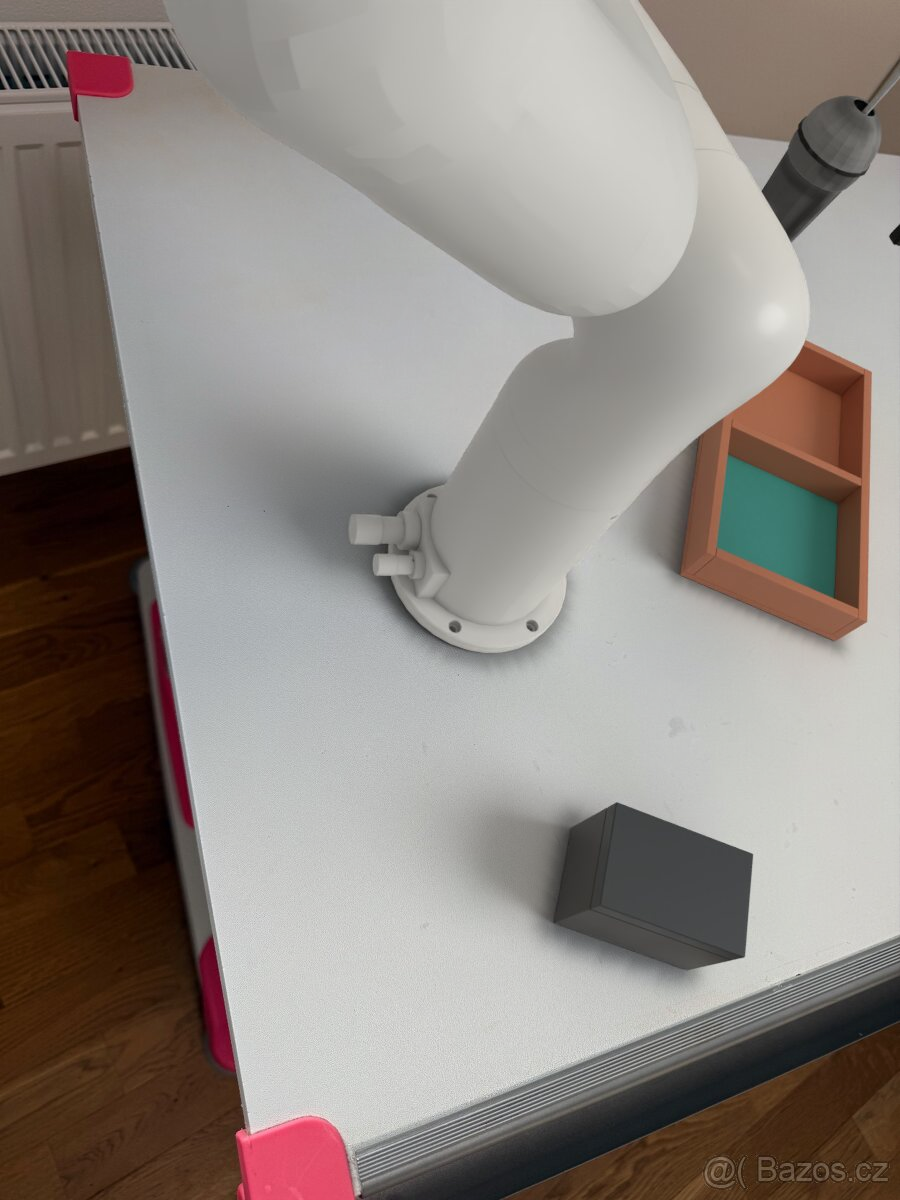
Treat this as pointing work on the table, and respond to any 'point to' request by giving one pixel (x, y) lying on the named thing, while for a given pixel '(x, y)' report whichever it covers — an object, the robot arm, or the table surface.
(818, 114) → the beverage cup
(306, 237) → the table surface
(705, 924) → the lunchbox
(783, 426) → the divided orange tray
